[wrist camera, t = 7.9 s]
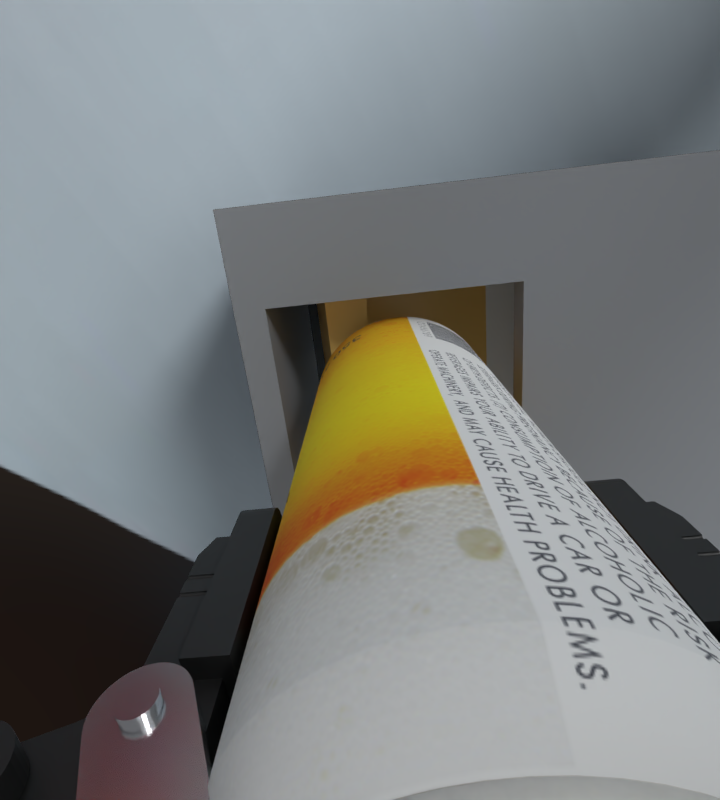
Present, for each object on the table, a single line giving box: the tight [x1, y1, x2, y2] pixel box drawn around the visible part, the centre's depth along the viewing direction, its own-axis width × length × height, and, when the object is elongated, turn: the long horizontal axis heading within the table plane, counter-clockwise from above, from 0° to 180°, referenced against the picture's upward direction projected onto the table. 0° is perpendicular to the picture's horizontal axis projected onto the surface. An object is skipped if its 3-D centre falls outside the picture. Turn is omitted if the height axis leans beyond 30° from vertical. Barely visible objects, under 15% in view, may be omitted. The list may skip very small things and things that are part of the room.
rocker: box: [317, 282, 514, 397], centre depth 20 cm, size 14×9×3 cm, turn 96°
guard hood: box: [213, 150, 720, 551], centre depth 20 cm, size 18×14×10 cm
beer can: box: [207, 317, 720, 800], centre depth 11 cm, size 6×6×15 cm
